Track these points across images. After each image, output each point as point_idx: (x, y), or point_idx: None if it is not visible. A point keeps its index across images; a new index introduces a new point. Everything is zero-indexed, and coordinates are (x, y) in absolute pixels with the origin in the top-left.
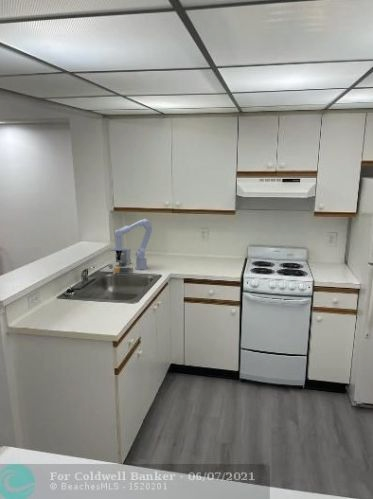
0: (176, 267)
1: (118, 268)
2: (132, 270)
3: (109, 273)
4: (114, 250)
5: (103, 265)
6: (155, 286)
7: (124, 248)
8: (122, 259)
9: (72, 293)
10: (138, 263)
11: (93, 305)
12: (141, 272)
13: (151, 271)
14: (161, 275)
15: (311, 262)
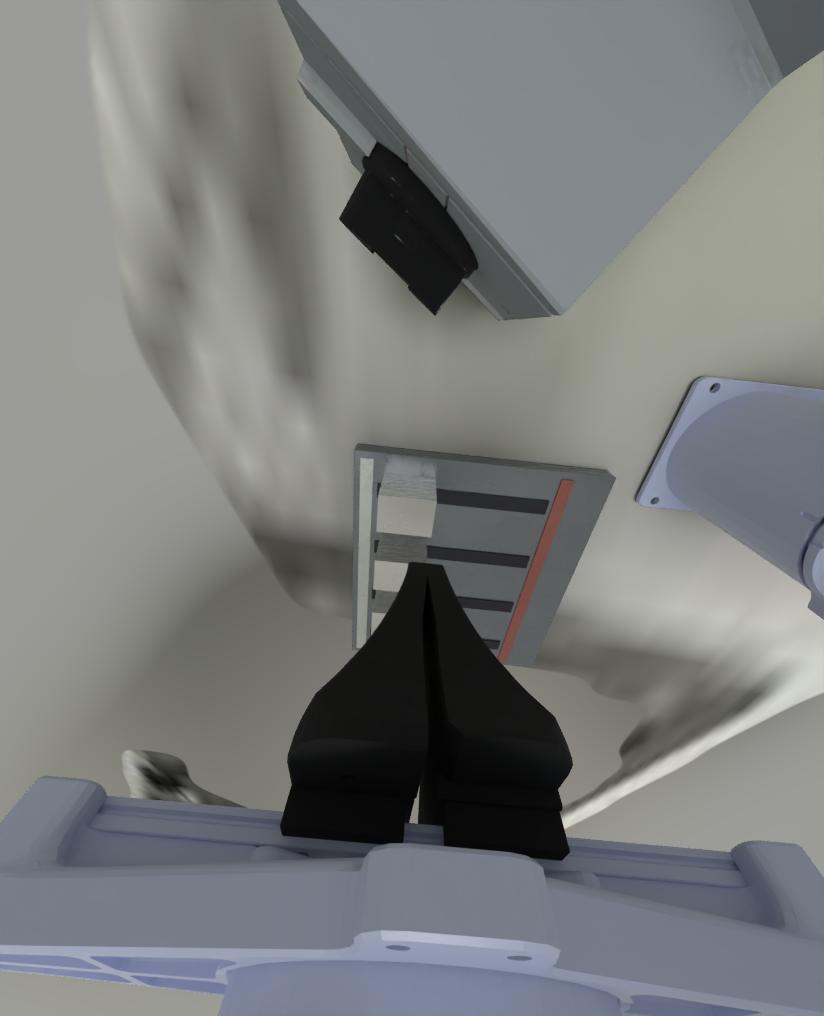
0: None
1: None
2: (566, 582)
3: (315, 577)
4: (227, 852)
5: (96, 85)
6: (598, 807)
7: (747, 1007)
8: (518, 316)
9: (190, 799)
10: (740, 541)
11: None
12: (644, 604)
13: (764, 594)
14: (765, 696)
15: None
